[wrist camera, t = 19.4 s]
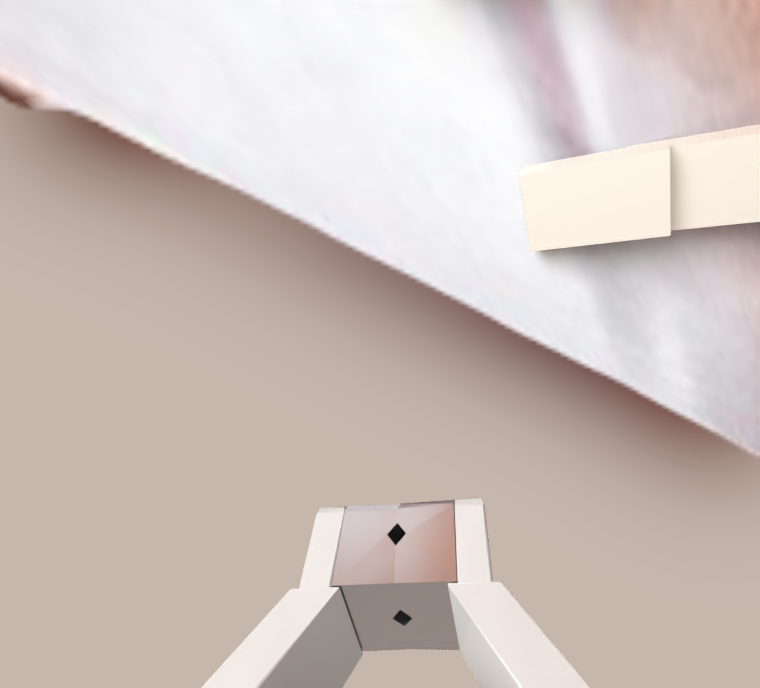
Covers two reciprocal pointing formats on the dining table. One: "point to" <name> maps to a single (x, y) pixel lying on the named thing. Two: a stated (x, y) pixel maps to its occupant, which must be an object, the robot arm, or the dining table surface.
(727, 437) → the dining table surface
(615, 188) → the domino
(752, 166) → the domino
